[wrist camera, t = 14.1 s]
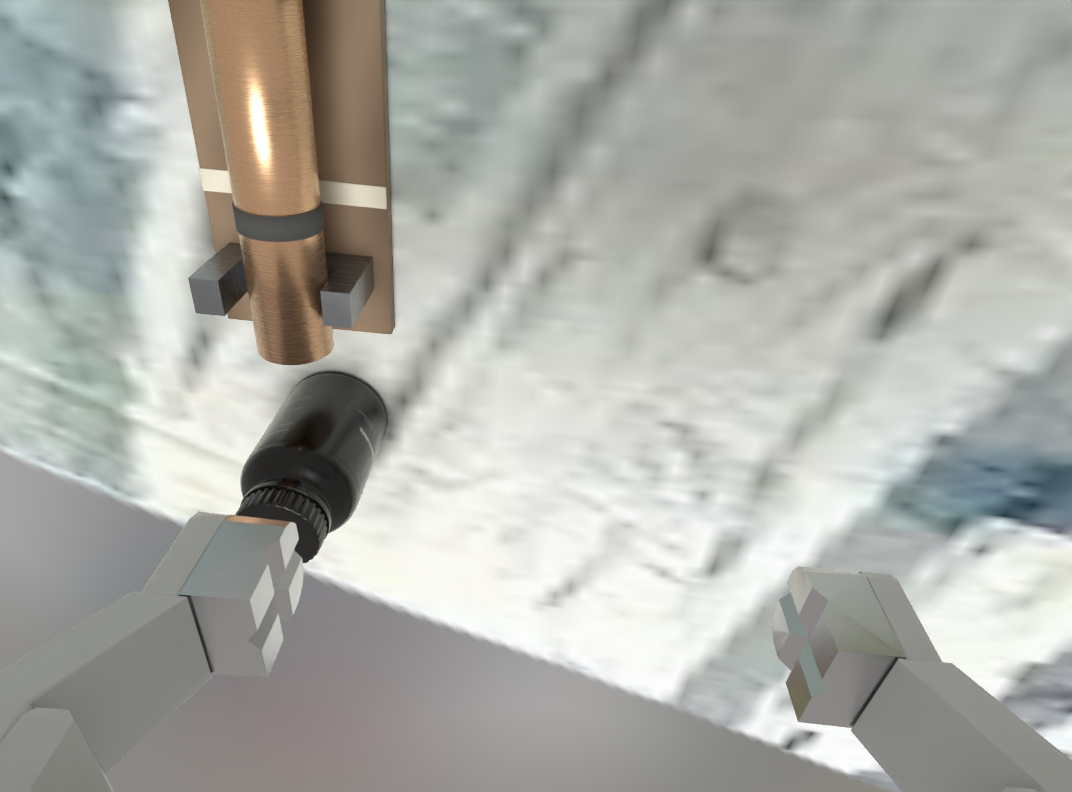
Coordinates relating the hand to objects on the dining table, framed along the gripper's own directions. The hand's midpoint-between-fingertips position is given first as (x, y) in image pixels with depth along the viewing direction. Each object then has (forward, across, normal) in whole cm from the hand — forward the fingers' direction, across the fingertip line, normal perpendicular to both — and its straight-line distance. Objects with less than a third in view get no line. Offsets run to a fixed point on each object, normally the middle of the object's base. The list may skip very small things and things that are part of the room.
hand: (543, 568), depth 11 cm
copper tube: (+26, +14, 0) cm, 30 cm away
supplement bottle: (+29, +13, +19) cm, 37 cm away
